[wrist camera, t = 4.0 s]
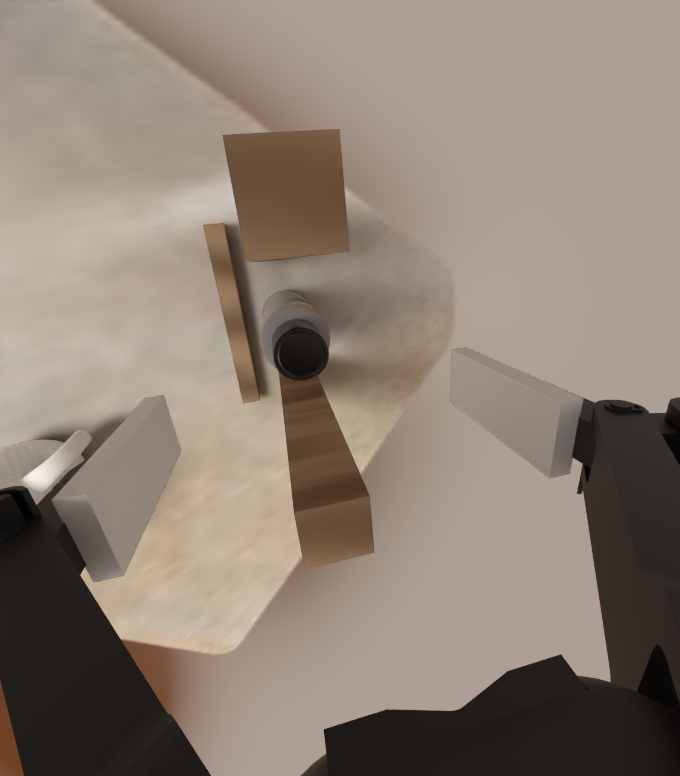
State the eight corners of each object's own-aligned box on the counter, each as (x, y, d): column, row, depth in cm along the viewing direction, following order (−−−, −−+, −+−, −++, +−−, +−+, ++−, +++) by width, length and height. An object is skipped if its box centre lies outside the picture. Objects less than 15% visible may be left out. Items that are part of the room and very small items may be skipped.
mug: (63, 383, 39) (-28, 438, 27) (146, 441, 43) (99, 510, 31) (-21, 466, 40) (-144, 554, 28) (67, 514, 44) (-7, 608, 32)
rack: (206, 226, 36) (57, 143, 11) (290, 219, 38) (339, 129, 12) (244, 397, 44) (211, 592, 18) (313, 385, 45) (374, 552, 19)
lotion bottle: (269, 342, 42) (272, 405, 23) (256, 296, 40) (246, 326, 21) (314, 331, 42) (350, 384, 24) (303, 285, 40) (333, 305, 22)
